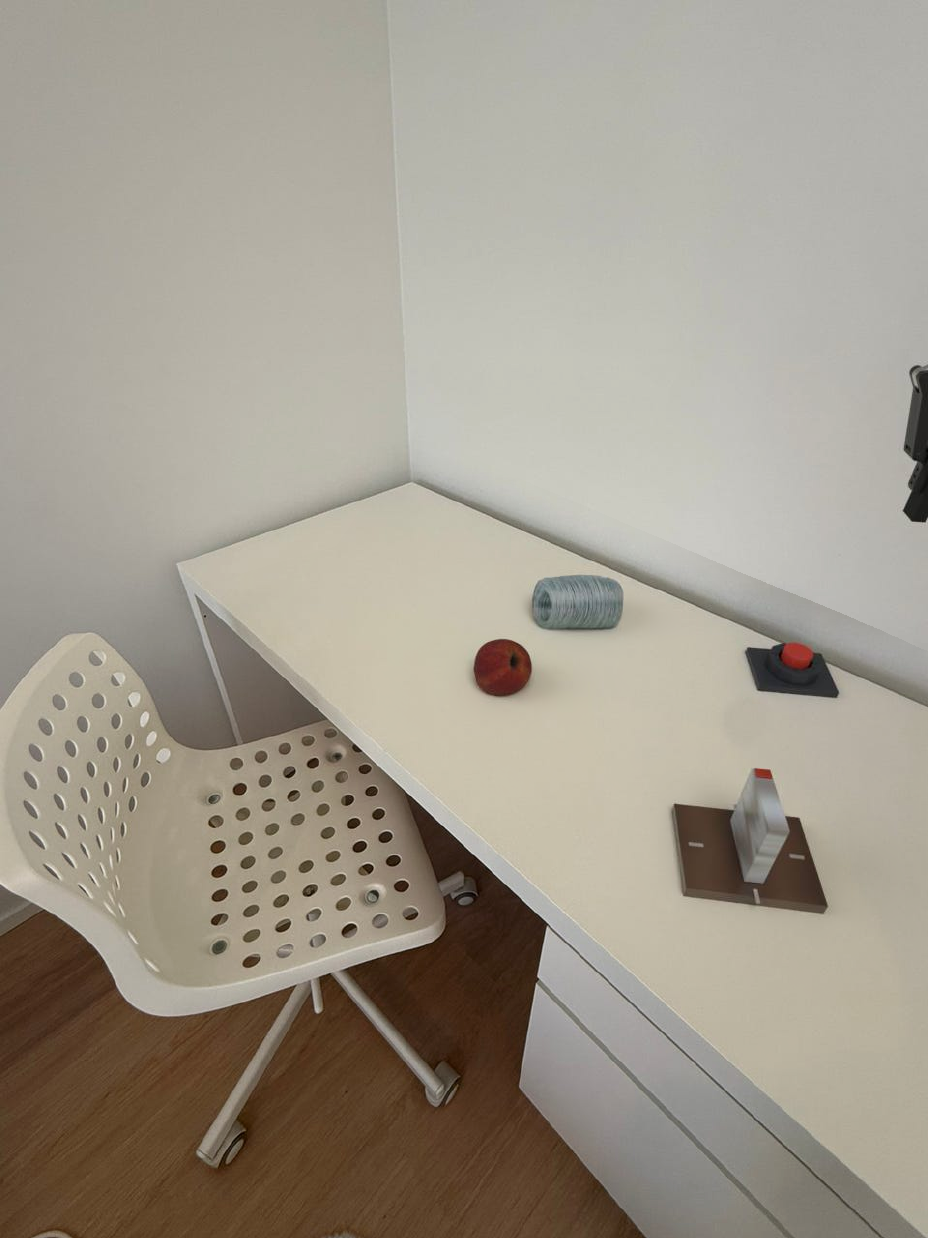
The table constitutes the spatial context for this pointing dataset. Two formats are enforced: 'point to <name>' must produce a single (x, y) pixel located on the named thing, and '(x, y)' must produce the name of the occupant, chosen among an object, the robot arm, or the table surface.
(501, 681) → the apple
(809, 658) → the button
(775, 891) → the base
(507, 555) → the table surface
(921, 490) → the robot arm
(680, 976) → the table surface
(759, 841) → the tap handle
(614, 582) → the spool
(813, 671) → the switch block
